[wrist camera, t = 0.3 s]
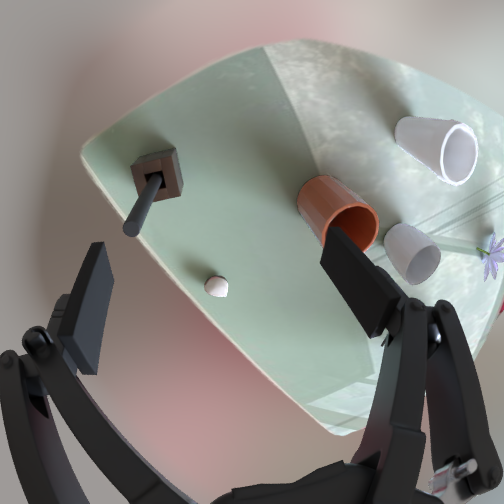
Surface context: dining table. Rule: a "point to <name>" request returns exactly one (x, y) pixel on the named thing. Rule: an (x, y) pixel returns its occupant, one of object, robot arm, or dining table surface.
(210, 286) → the white seashell
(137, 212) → the rod
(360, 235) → the tumbler
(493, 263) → the water lily
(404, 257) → the mug
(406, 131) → the foam cup
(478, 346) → the dining table surface
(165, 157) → the holder
